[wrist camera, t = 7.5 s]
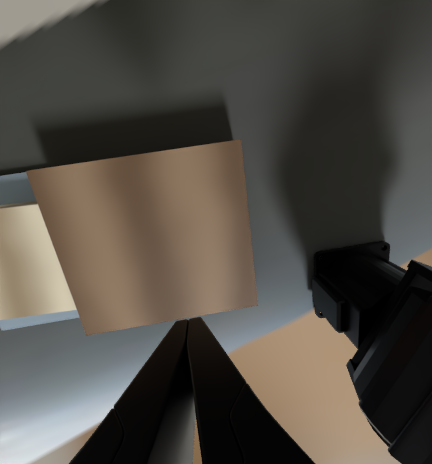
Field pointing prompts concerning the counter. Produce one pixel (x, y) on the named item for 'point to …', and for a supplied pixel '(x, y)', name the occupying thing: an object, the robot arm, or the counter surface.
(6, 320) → the mat
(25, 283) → the tile
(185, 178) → the plate
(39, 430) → the counter surface
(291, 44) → the counter surface
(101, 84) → the counter surface
